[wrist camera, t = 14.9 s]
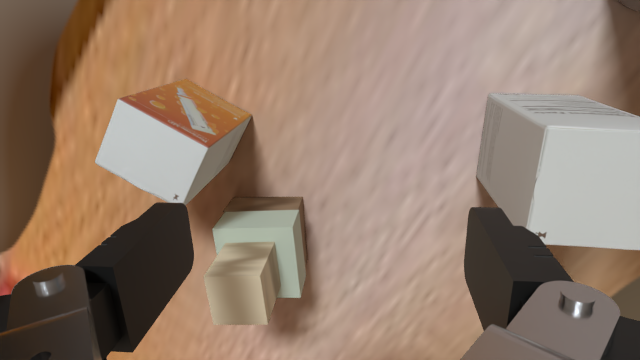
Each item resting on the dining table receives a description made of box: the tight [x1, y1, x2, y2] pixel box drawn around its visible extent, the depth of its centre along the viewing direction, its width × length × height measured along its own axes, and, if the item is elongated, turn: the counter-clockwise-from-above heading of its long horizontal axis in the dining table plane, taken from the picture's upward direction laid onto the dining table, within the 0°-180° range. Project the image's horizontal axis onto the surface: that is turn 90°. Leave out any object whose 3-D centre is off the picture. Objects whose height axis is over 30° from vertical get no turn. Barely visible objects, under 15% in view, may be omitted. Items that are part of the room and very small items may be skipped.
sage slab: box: [212, 210, 306, 298], centre depth 45 cm, size 8×8×4 cm
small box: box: [95, 79, 252, 205], centre depth 40 cm, size 8×6×13 cm
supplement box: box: [477, 93, 640, 250], centre depth 36 cm, size 9×9×15 cm
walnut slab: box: [223, 197, 307, 266], centre depth 48 cm, size 8×8×4 cm
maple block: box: [204, 242, 281, 325], centre depth 40 cm, size 5×5×6 cm
